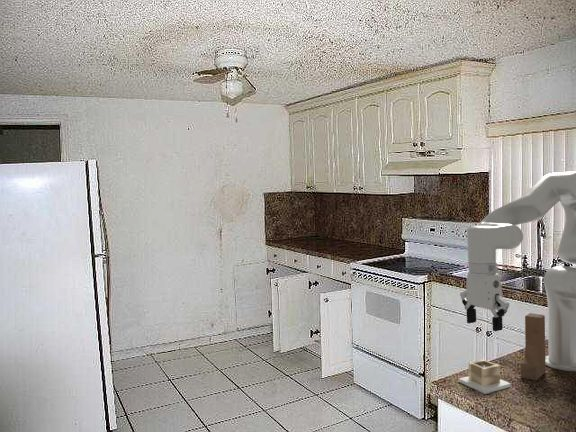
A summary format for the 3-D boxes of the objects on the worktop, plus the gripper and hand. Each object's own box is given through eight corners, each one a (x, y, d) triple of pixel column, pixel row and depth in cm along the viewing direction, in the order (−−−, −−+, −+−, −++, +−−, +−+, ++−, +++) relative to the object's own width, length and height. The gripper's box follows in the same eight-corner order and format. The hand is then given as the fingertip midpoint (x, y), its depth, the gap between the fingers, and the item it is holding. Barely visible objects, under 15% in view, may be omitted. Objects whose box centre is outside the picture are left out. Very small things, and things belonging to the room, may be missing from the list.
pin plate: (483, 375, 148) (483, 357, 148) (510, 386, 139) (510, 368, 139) (458, 381, 144) (458, 363, 144) (484, 393, 135) (484, 374, 135)
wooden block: (536, 381, 142) (535, 321, 141) (520, 377, 145) (519, 318, 145) (545, 372, 149) (545, 314, 148) (530, 369, 152) (529, 312, 151)
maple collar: (483, 375, 145) (483, 359, 145) (499, 382, 140) (499, 365, 140) (468, 379, 143) (468, 362, 143) (484, 386, 137) (484, 369, 137)
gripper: (516, 270, 134) (518, 331, 135) (469, 263, 149) (471, 318, 150) (496, 273, 131) (498, 336, 131) (450, 266, 146) (453, 321, 147)
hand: (484, 326), depth 141 cm, fingers open, 9 cm apart
